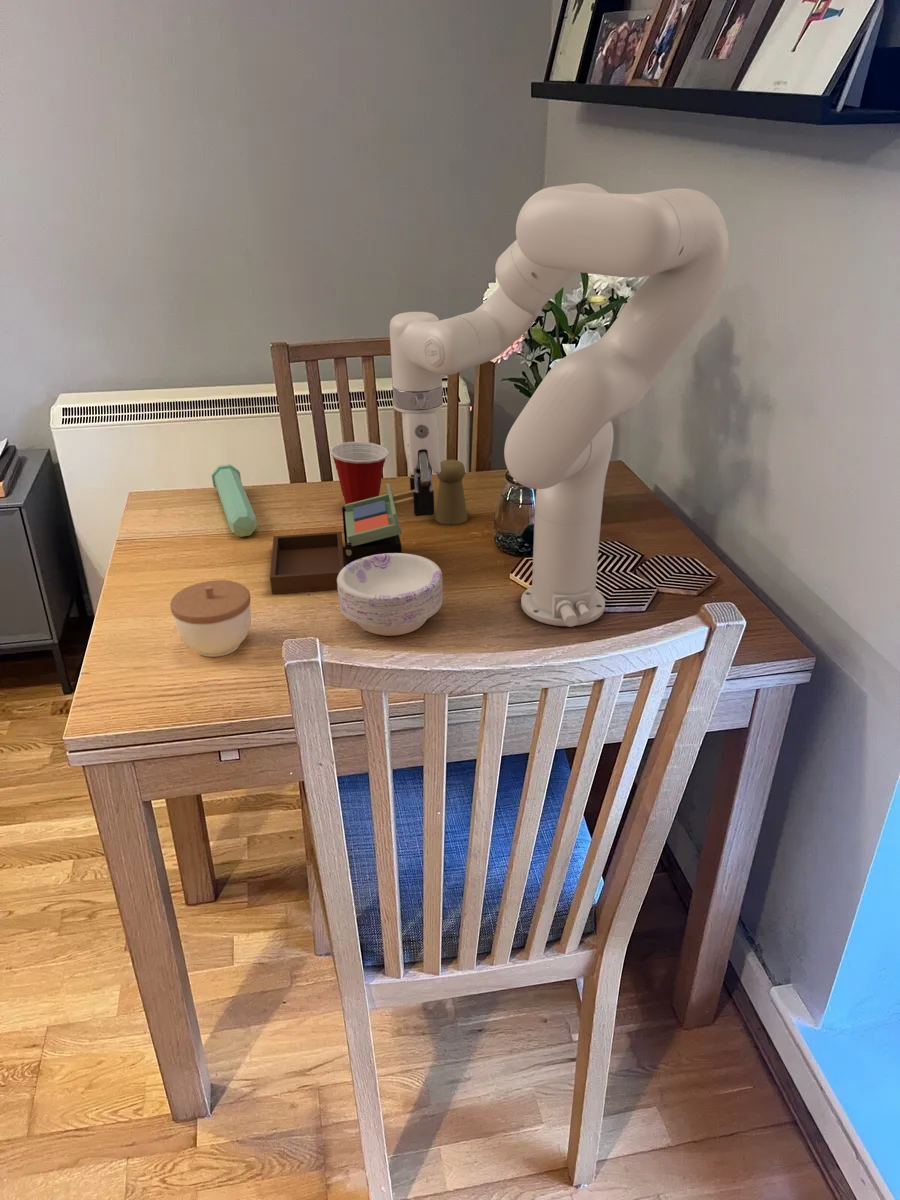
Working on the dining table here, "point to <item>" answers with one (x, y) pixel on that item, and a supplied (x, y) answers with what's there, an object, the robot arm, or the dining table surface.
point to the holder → (306, 562)
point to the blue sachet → (369, 510)
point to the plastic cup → (359, 469)
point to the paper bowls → (390, 592)
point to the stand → (370, 546)
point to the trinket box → (212, 616)
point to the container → (234, 500)
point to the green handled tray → (381, 531)
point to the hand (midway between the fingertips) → (422, 506)
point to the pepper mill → (451, 493)
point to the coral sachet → (371, 523)
